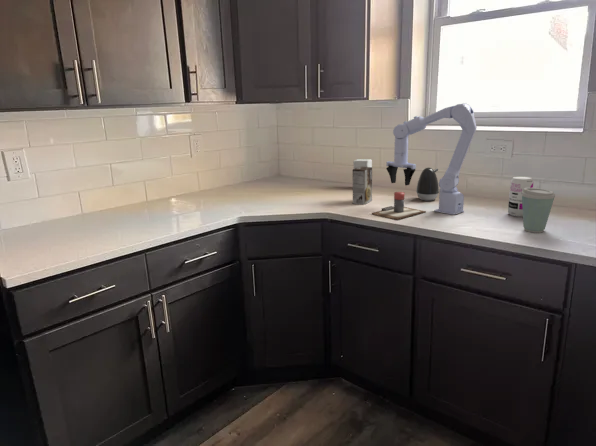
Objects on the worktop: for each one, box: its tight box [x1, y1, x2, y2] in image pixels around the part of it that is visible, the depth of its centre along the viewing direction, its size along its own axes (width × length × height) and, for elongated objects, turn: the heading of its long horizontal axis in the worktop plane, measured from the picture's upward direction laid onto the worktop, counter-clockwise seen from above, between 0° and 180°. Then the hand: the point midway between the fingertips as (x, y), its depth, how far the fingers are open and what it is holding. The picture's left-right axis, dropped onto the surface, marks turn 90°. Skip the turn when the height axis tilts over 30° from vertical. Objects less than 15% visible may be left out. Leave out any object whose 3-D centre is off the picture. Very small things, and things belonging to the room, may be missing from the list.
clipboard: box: [371, 205, 427, 221], centre depth 197 cm, size 14×18×2 cm
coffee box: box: [352, 166, 373, 206], centre depth 218 cm, size 9×6×16 cm
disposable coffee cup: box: [521, 187, 556, 234], centre depth 165 cm, size 11×11×15 cm
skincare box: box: [352, 158, 373, 169], centre depth 249 cm, size 8×7×16 cm
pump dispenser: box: [415, 167, 440, 202], centre depth 219 cm, size 10×10×15 cm
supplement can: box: [507, 175, 534, 218], centre depth 187 cm, size 8×8×15 cm
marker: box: [393, 191, 406, 213], centre depth 196 cm, size 4×4×8 cm
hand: (400, 184), depth 205 cm, fingers open, 7 cm apart
